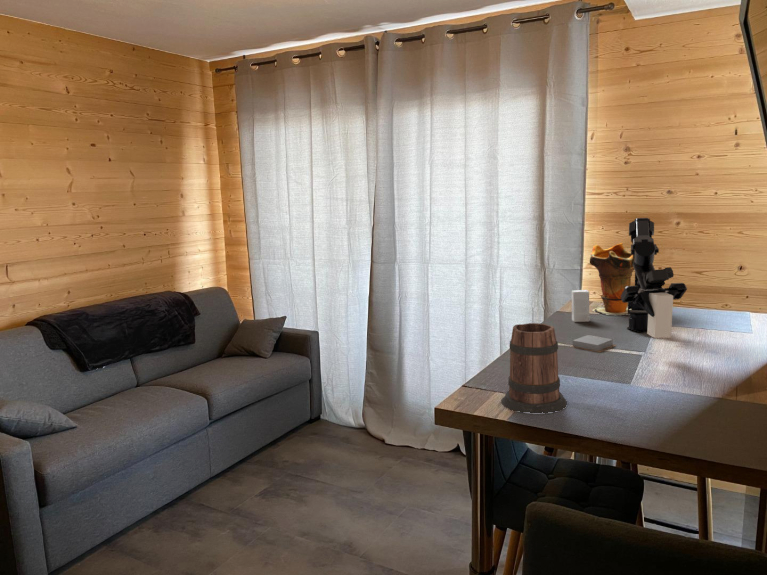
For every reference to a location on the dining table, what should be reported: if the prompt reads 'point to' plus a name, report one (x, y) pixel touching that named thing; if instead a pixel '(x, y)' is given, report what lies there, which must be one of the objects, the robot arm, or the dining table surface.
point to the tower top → (592, 342)
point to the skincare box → (580, 305)
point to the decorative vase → (613, 277)
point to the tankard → (534, 370)
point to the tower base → (593, 350)
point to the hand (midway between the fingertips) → (662, 315)
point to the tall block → (660, 315)
